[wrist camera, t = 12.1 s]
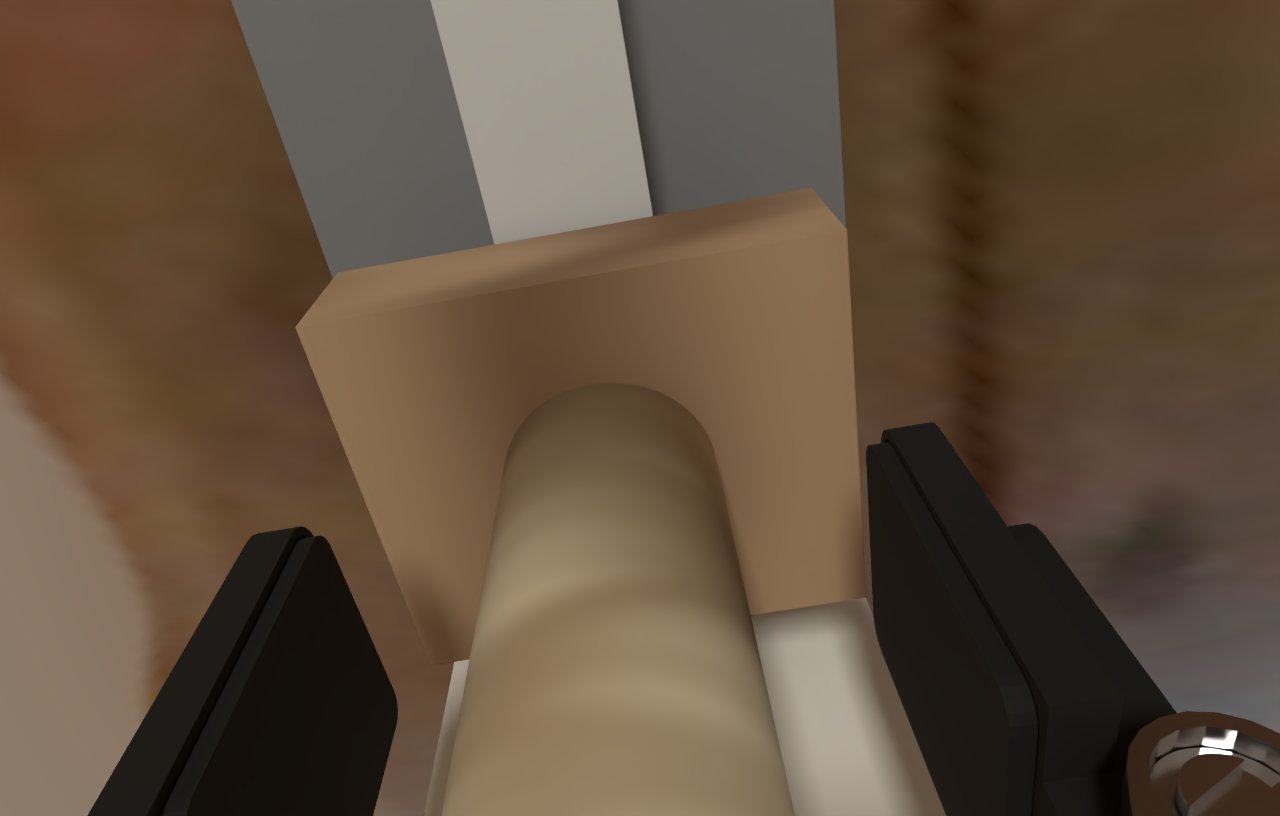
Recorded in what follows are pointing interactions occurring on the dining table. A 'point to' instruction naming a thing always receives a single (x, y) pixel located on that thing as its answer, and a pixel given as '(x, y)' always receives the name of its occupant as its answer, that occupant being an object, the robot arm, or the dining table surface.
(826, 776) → the rail base
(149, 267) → the dining table surface
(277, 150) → the dining table surface
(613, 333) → the carriage
